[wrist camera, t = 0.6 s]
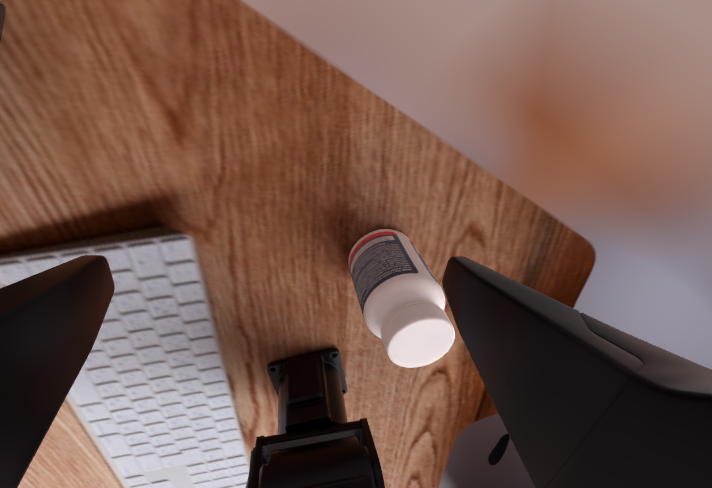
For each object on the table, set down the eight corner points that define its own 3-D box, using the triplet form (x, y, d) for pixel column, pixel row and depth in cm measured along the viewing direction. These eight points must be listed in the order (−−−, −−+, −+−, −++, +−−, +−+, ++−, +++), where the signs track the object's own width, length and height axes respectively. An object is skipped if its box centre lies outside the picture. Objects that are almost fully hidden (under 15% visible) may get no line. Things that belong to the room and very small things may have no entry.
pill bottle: (335, 270, 25) (356, 364, 18) (370, 216, 24) (410, 296, 16) (389, 291, 28) (428, 382, 20) (426, 242, 26) (483, 324, 18)
